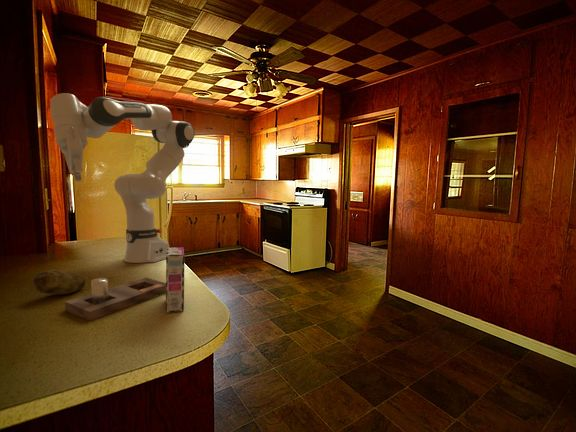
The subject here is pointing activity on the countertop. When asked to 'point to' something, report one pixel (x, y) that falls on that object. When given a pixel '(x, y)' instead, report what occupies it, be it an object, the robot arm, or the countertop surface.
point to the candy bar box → (175, 279)
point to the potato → (58, 282)
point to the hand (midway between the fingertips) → (78, 176)
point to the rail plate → (116, 298)
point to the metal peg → (99, 290)
